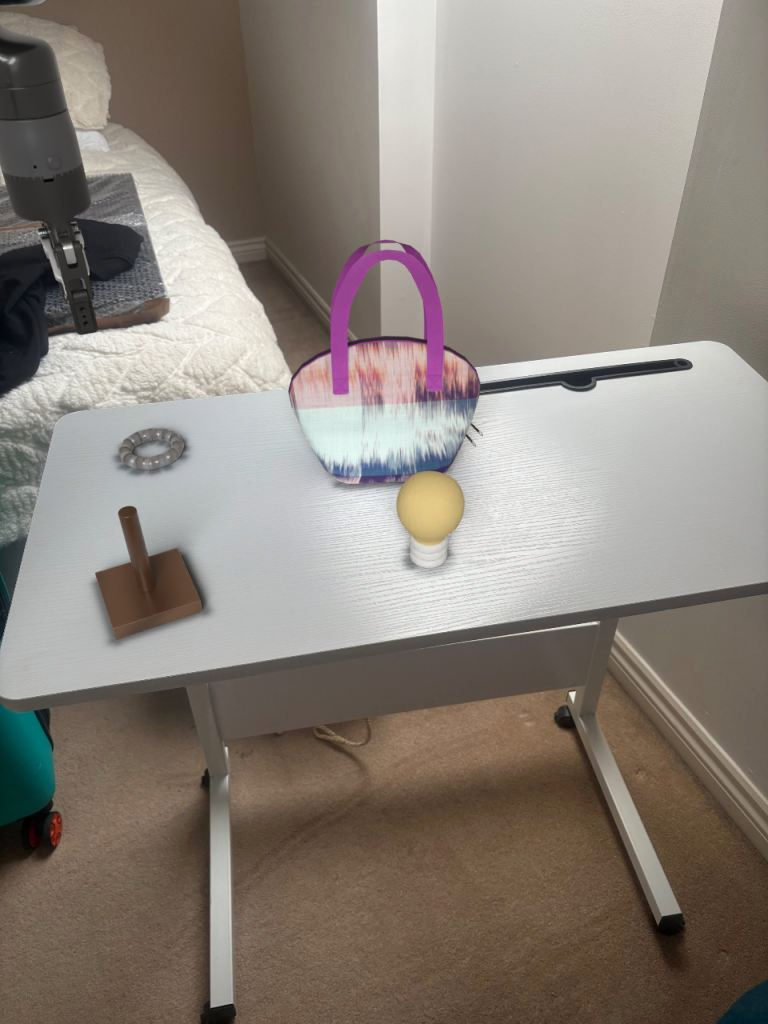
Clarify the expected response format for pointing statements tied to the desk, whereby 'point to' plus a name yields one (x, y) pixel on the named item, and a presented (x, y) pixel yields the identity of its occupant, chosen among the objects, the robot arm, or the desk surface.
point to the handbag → (385, 388)
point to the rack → (146, 584)
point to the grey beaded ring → (154, 461)
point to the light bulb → (430, 515)
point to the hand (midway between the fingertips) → (80, 315)
